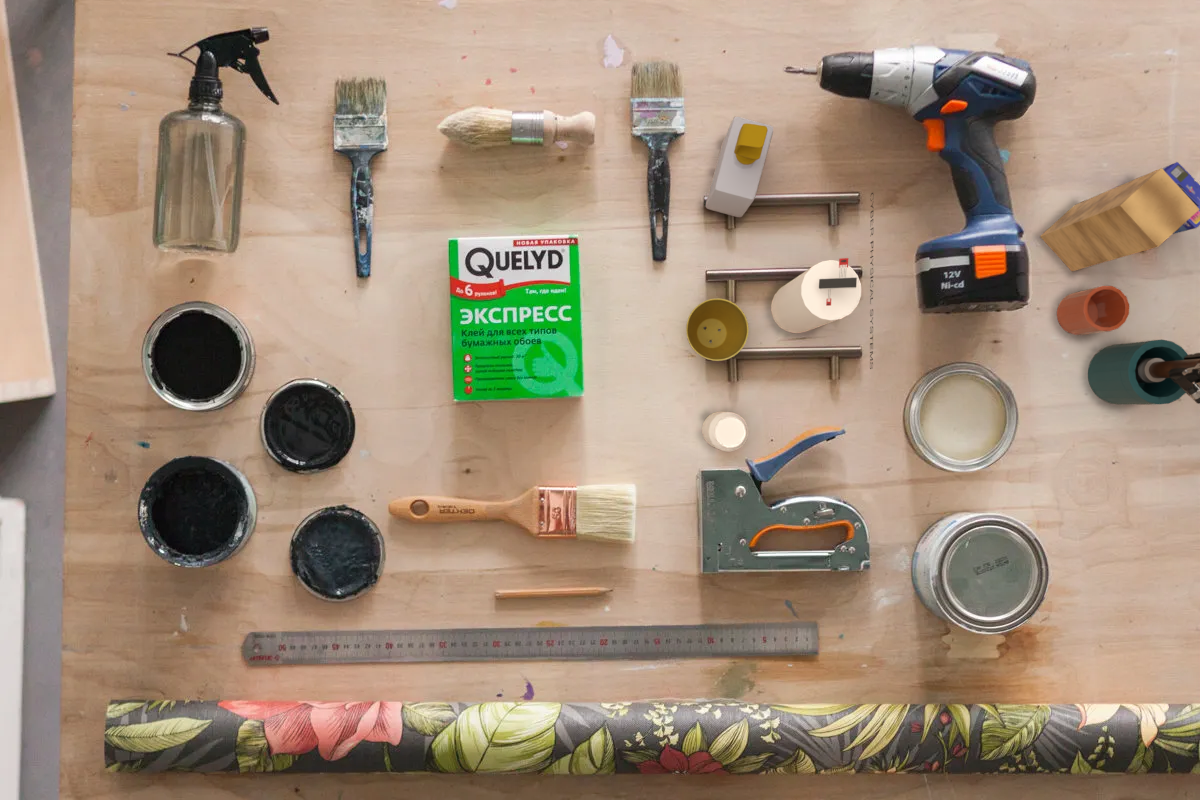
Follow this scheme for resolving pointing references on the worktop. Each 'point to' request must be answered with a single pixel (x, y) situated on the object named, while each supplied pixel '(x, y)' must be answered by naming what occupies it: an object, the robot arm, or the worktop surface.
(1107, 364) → the jar
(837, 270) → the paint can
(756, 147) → the soap bottle
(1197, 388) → the robot arm
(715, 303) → the flower pot
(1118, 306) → the brush pot
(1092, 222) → the riser
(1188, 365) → the brush
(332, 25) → the worktop surface
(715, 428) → the cream round cylinder
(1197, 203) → the ink cartridge box
